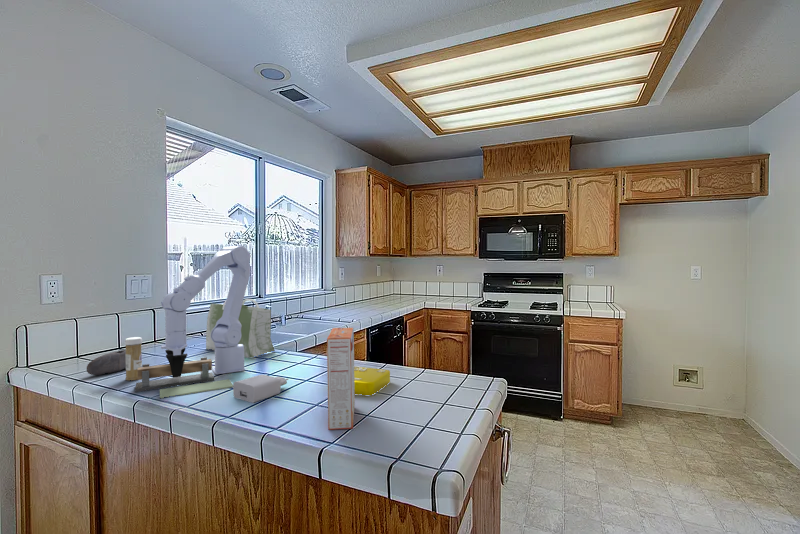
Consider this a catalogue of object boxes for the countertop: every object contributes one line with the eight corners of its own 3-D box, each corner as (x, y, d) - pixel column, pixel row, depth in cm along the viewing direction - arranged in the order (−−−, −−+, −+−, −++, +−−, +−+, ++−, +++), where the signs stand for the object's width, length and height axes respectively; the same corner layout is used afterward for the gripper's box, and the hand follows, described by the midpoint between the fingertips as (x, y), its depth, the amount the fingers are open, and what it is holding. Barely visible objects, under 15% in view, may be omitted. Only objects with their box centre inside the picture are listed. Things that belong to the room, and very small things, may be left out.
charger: (296, 389, 116) (254, 404, 103) (276, 384, 121) (233, 397, 108) (296, 373, 116) (254, 386, 103) (276, 369, 121) (233, 381, 108)
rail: (210, 367, 128) (210, 358, 128) (211, 370, 125) (211, 360, 125) (137, 377, 117) (137, 367, 117) (137, 379, 114) (137, 369, 114)
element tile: (325, 392, 113) (325, 376, 113) (350, 378, 127) (350, 364, 127) (371, 398, 108) (371, 381, 107) (392, 383, 121) (392, 368, 121)
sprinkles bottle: (142, 379, 125) (141, 338, 125) (124, 381, 123) (124, 339, 123) (142, 376, 129) (142, 336, 129) (125, 378, 126) (125, 337, 126)
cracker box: (331, 407, 100) (331, 327, 100) (355, 407, 100) (354, 326, 100) (325, 430, 86) (325, 337, 86) (353, 429, 86) (352, 336, 86)
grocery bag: (277, 351, 165) (277, 298, 165) (249, 358, 154) (249, 300, 153) (232, 344, 182) (232, 295, 182) (204, 349, 171) (203, 297, 171)
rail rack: (211, 375, 130) (211, 356, 130) (214, 380, 124) (214, 360, 124) (136, 385, 118) (136, 364, 118) (135, 392, 112) (135, 370, 112)
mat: (229, 380, 124) (229, 379, 124) (233, 387, 117) (233, 385, 117) (159, 390, 113) (159, 389, 113) (159, 398, 107) (159, 397, 107)
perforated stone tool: (90, 379, 126) (90, 358, 126) (81, 377, 128) (81, 356, 128) (138, 368, 139) (138, 348, 139) (129, 366, 142) (129, 347, 142)
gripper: (160, 328, 125) (160, 370, 125) (161, 335, 113) (161, 381, 113) (185, 326, 129) (185, 367, 129) (188, 333, 116) (188, 378, 116)
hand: (176, 373), depth 121 cm, fingers open, 7 cm apart
